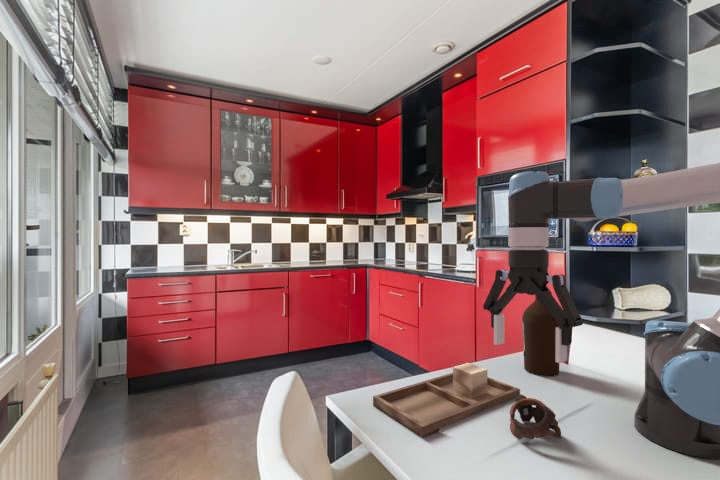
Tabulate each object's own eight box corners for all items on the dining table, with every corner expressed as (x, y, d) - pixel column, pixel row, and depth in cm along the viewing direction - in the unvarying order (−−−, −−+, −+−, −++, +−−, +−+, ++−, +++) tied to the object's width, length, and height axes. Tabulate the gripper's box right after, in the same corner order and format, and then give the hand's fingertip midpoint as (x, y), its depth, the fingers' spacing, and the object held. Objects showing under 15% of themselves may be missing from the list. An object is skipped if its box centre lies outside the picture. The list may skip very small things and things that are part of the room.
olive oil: (566, 371, 109) (566, 288, 109) (554, 380, 102) (554, 291, 102) (529, 362, 117) (529, 284, 117) (516, 370, 109) (516, 288, 109)
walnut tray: (519, 397, 91) (520, 389, 91) (422, 437, 73) (422, 426, 73) (465, 376, 105) (465, 368, 105) (373, 405, 87) (373, 396, 87)
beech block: (487, 392, 92) (487, 369, 92) (471, 398, 89) (471, 374, 89) (468, 384, 97) (468, 362, 97) (453, 390, 94) (453, 367, 94)
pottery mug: (576, 448, 70) (564, 417, 68) (531, 469, 70) (519, 439, 68) (539, 405, 81) (528, 377, 79) (501, 423, 82) (489, 396, 79)
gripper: (604, 250, 66) (603, 366, 66) (488, 247, 87) (488, 335, 87) (583, 250, 62) (583, 374, 62) (467, 247, 83) (467, 340, 83)
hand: (527, 352), depth 75 cm, fingers open, 13 cm apart
